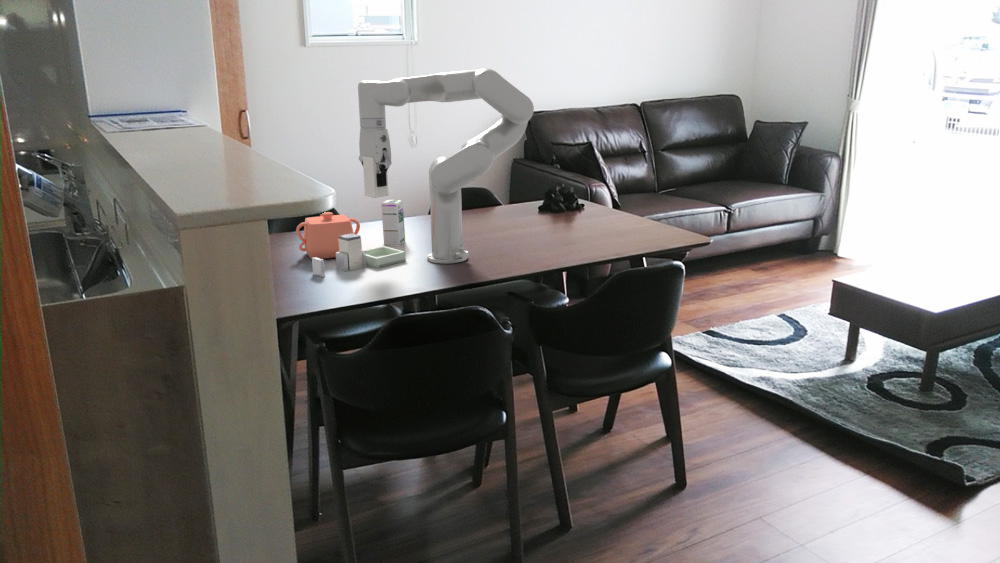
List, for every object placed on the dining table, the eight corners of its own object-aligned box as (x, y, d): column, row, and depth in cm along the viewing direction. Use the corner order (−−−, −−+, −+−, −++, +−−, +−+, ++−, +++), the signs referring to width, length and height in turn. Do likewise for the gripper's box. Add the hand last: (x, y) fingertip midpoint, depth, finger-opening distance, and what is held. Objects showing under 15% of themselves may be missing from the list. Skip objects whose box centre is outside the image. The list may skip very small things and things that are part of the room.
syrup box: (400, 245, 264) (398, 202, 260) (383, 245, 265) (380, 202, 261) (405, 241, 270) (403, 199, 265) (388, 241, 271) (386, 199, 267)
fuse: (388, 195, 240) (386, 154, 236) (374, 198, 236) (372, 156, 233) (378, 193, 243) (376, 152, 240) (364, 195, 240) (362, 154, 236)
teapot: (353, 243, 269) (351, 202, 265) (365, 256, 251) (363, 214, 247) (293, 249, 262) (289, 207, 258) (301, 263, 245) (297, 219, 241)
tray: (405, 261, 246) (405, 251, 245) (377, 268, 238) (376, 258, 238) (384, 254, 253) (383, 245, 252) (355, 261, 246) (355, 252, 245)
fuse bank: (366, 266, 241) (364, 234, 238) (321, 277, 230) (319, 244, 227) (357, 263, 244) (355, 232, 241) (312, 274, 233) (310, 241, 230)
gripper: (401, 124, 230) (403, 187, 236) (366, 121, 242) (369, 180, 247) (380, 126, 225) (383, 190, 231) (345, 122, 237) (349, 183, 242)
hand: (376, 184), depth 239 cm, fingers closed on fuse, 5 cm apart
